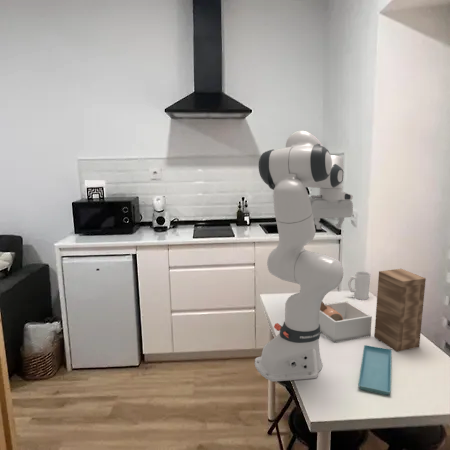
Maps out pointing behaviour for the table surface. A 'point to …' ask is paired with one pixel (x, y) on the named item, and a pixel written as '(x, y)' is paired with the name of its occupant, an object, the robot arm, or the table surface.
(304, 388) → the table surface
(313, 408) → the table surface
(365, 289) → the mug
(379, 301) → the wooden block
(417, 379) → the table surface
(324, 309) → the pot
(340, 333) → the bin
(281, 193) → the robot arm
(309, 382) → the table surface
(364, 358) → the teal serving tray
